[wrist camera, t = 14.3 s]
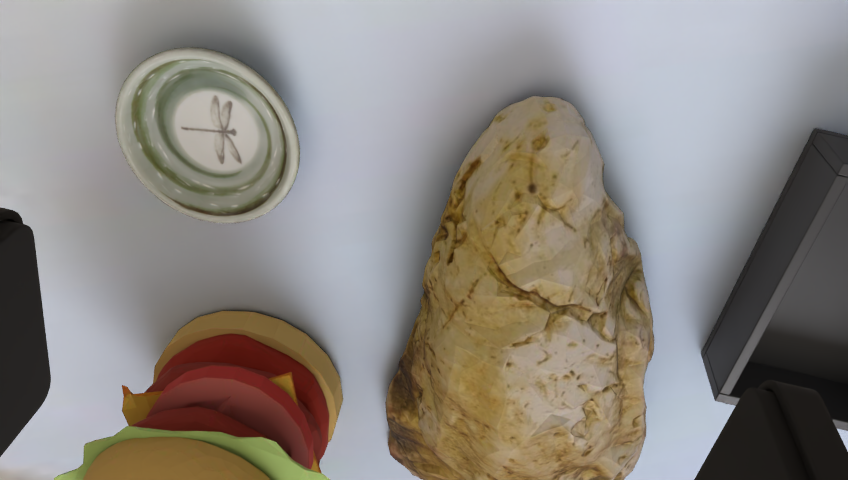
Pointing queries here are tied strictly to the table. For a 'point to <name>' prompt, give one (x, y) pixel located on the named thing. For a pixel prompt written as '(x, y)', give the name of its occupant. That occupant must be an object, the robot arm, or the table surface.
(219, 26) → the table surface
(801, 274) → the charcoal bin
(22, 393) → the robot arm
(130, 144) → the saucer
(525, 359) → the rock
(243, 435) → the hamburger
